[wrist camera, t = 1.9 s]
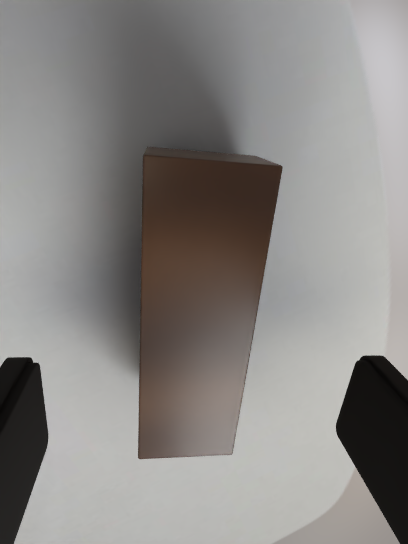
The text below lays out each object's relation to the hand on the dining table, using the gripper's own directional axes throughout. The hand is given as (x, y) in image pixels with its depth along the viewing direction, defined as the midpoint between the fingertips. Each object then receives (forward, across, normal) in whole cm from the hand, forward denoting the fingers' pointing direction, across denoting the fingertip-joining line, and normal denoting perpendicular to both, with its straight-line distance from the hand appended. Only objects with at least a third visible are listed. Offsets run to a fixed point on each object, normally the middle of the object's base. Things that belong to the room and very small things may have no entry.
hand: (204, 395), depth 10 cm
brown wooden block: (+6, 0, 0) cm, 6 cm away
